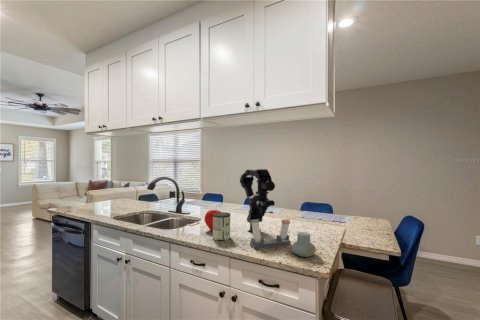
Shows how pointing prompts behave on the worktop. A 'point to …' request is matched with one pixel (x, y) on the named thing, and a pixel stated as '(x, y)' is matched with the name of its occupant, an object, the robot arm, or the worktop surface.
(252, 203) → the robot arm
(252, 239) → the switch base
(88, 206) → the worktop surface
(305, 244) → the air freshener
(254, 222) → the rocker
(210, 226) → the apple
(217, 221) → the coffee can
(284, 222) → the block
